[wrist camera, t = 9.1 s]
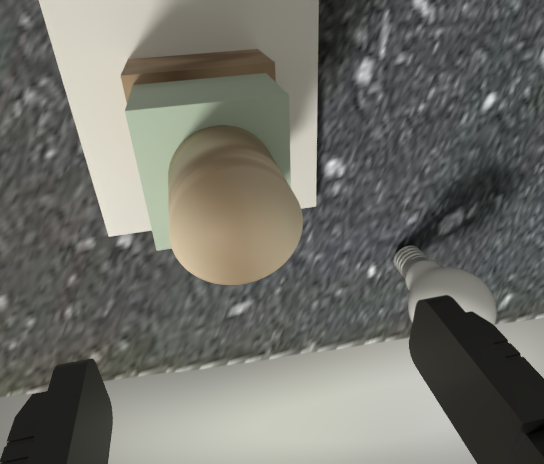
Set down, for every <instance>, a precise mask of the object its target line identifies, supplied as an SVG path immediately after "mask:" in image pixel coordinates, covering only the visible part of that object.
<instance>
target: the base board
mask: <svg viewBox="0 0 544 464" xmlns="http://www.w3.org/2000/svg"><path fill="white" fill-rule="evenodd" d="M39 3H40V6H41V9H42V13H43V16H44V20H45V23H46V26H47V30H48V33H49V36H50V40H51V43H52V47H53V50H54V53H55V57H56V60H57V63H58V67H59V70H60V74H61V77H62V80H63V84H64V87H65V90H66V94H67V97H68V101H69V104H70V107H71V111H72V114H73V117H74V121H75V124H76V128H77V131H78V134H79V138H80V141H81V144H82V148H83V151H84V155H85V158H86V161H87V165H88V168H89V171H90V175H91V178H92V182H93V185H94V188H95V192H96V195H97V198H98V202H99V205H100V209H101V212H102V215H103V219H104V222H105V225H106V229H107V232H108V236H109V237H110V236H117V235H123V234H130V233H137V232H144V231H151V230H152V228H151V224H150V219H149V215H148V210H147V206H146V202H145V197H144V193H143V189H142V184H141V180H140V175H139V171H138V167H137V162H136V158H135V154H134V149H133V145H132V140H131V136H130V132H129V127H128V123H127V119H126V114H125V109H126V105H127V103H126V98H125V94H124V89H123V85H122V80H121V73H122V71H123V69H124V67H125V64H126V62H127V60H128V59H139V58H151V57H164V56H176V55H188V54H201V53H213V52H226V51H238V50H250V49H258V50H260V51H261V52H262V53H264V54H265V55H266V56H268V57H269V58H270V59H271V60H273V61H274V62H275V76H276V83H277V84H278V85H279V86H280V87H281V88H282V89H284V90H285V91H286V92H287V93H288V94H289V118H290V165H291V189H292V191H293V193H294V194H295V196H296V198H297V200H298V202H299V204H300V207H301V209H302V208H309V207H316V172H317V98H318V23H319V0H39Z"/></svg>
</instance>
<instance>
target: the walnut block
mask: <svg viewBox="0 0 544 464" xmlns="http://www.w3.org/2000/svg"><path fill="white" fill-rule="evenodd" d="M260 73H267V74H268V75H269V76H270V77H271V78H272V79H273V80H274V81H275V82H276V76H275V62H274V61H273V60H271V59H270V58H269V57H268V56H266V55H265V54H264V53H262V52H261V51H260V50H258V49H250V50H238V51H226V52H213V53H201V54H188V55H176V56H164V57H151V58H139V59H128V60H127V62H126V64H125V67H124V69H123V71H122V73H121V80H122V85H123V89H124V94H125V98H126V103H127V102H128V99H129V95H130V92H131V89H132V85H138V84H149V83H160V82H171V81H183V80H194V79H205V78H216V77H227V76H238V75H249V74H260Z"/></svg>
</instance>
